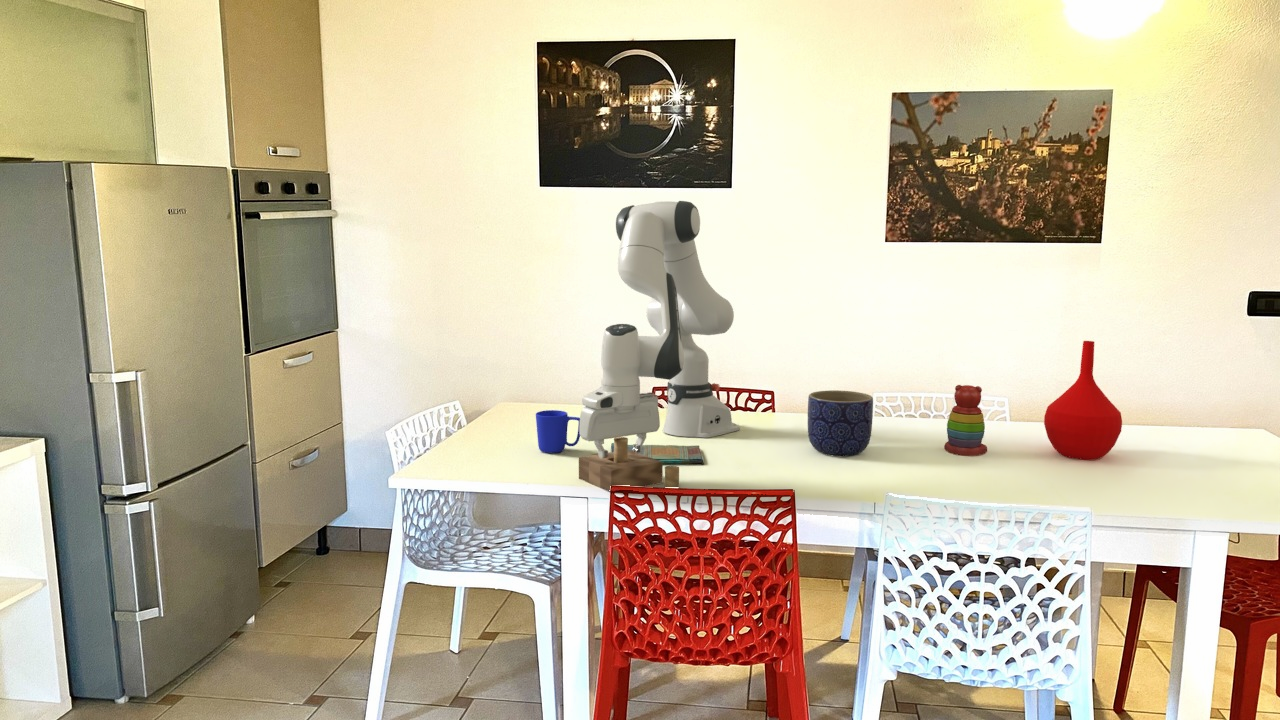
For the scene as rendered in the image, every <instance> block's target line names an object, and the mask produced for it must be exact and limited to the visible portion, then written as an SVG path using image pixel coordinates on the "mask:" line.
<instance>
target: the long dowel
mask: <svg viewBox="0 0 1280 720" xmlns="http://www.w3.org/2000/svg"><path fill="white" fill-rule="evenodd" d="M628 442H629V438H628V437H627V436H623V437H616V438H613V443H614V462H615V463H623V462H628V445H629V443H628Z"/></svg>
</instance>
